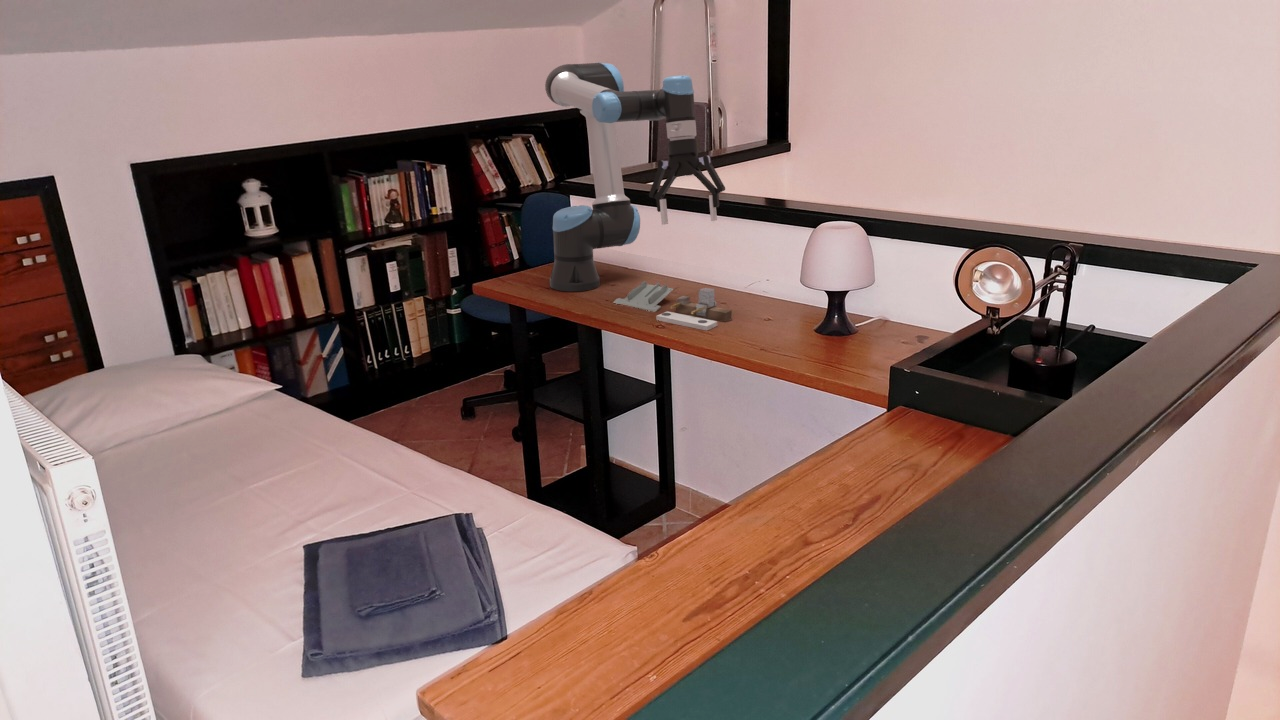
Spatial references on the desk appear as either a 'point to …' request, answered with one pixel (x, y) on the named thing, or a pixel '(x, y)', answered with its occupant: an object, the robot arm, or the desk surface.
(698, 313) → the slider
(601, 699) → the desk surface
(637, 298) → the metal bracket
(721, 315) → the brown fixture base
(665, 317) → the hole plate
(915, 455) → the desk surface
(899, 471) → the desk surface
